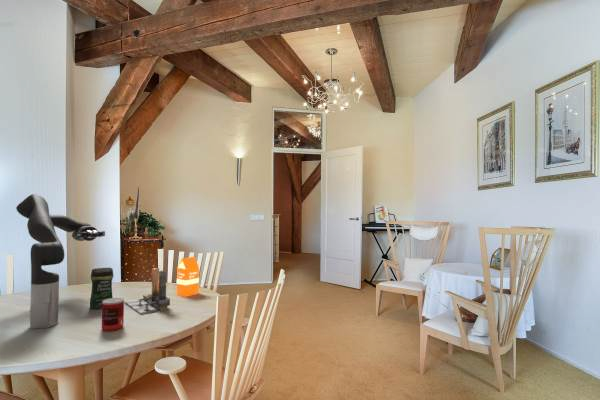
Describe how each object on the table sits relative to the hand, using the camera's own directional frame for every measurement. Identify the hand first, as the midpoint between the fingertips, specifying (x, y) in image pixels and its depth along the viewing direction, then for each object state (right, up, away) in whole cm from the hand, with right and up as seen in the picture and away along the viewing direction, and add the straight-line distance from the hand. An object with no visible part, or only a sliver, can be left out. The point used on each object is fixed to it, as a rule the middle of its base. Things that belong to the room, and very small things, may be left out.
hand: (95, 235), depth 169 cm
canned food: (+26, -34, -33) cm, 54 cm away
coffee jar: (+5, -34, -4) cm, 35 cm away
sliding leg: (+27, -33, -2) cm, 43 cm away
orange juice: (+38, -35, +21) cm, 56 cm away
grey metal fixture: (+26, -34, -2) cm, 43 cm away
